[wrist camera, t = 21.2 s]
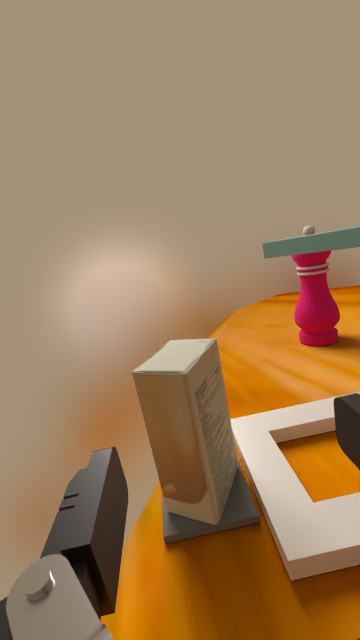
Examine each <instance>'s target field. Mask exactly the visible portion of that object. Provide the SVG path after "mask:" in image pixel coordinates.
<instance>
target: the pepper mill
mask: <svg viewBox="0 0 360 640" xmlns="http://www.w3.org/2000/svg"><path fill="white" fill-rule="evenodd" d="M303 233H304V235H305V236H306V235H312V234H314V233H315V228H314V227H313V226H311V225H309V226H306V227H305V228H304V231H303ZM330 253H331V250H330V251H322V252H314V253H305V254H297V255H292V258H293V260H294V261H295V262H296V263H297V264H298V267H297V268H296V269H297V271H298V272H297V275H299V276H300V280H301V291H300V296H299V300H298V303H297V305H296V309H295V322H296V324H297V325H298V326H299V327H300V328H301V330H300V331H299V338H300V342H301V343H303V344H305V345H310V346H324V345H330V344H333V343H335V342H336V341H337V340H338V330H337V329H336V328H334V326H335V325H336V324H337V323H338V321H339V319H340V314H339V309H338V307H337V304H336V303H335V301H334V299H333V298H332V296H331V294H330V291H329V289H328V285H327V279H326V278H327V277H326V276H327V274H326V273H327V272H328V271H329V269H328V265H329V263H327V262H326V260H327V258H328V257H329V255H330Z"/></svg>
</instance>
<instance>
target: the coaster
mask: <svg viewBox="0 0 360 640" xmlns="http://www.w3.org/2000/svg"><path fill="white" fill-rule="evenodd" d="M237 461H238V460H237ZM259 522H260V518H259V514H258V512H257V509H256V506H255V504H254V501H253V499H252V496H251V494H250V491H249V488H248V486H247V483H246V481H245V478H244V476H243V473H242V471H241V468H240V465H239V463H238V468H237V471H236V474H235V478H234V481H233V484H232V487H231V490H230V493H229V496H228V499H227V502H226V504H225V507H224V510H223V513H222V515H221V518H220V520H219V523H218V524H217V525H212V524H209V523H205V522H201V521H197V520H194V519H190V518H187V517H184V516H181V515H177V514H174V513H171V512H168V511H167V508H166V504H165V500H164V495H163V537H164V541H165V544H166V543H170V542H174V541H179V540H183V539H188V538H192V537H197V536H201V535H205V534H210V533H214V532H219V531H223V530H228V529H232V528H236V527H241V526H245V525H250V524H254V523H259Z"/></svg>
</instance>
